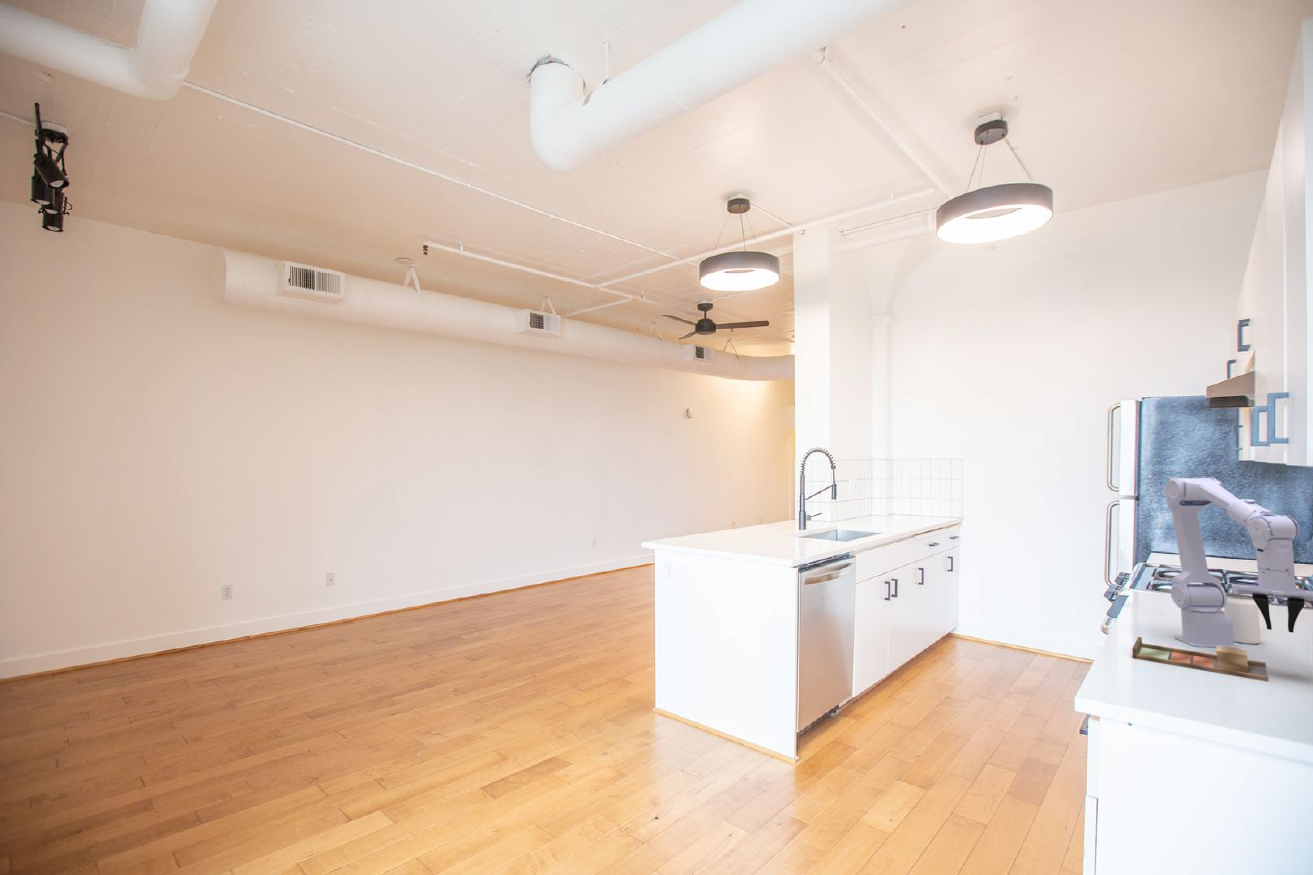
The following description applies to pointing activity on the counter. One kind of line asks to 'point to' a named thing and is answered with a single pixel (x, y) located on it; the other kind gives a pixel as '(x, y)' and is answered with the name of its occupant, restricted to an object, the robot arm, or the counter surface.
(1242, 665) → the block
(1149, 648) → the tray
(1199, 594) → the robot arm
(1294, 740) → the counter surface
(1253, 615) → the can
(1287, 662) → the counter surface
